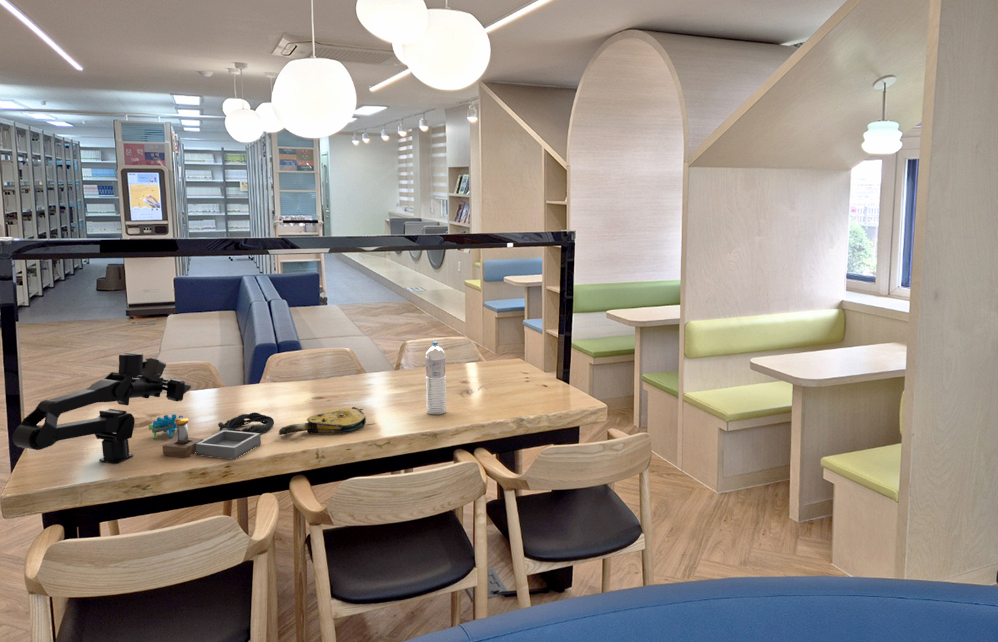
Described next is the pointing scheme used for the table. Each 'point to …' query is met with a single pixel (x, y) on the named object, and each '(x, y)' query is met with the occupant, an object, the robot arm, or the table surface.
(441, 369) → the water bottle
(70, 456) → the table surface
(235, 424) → the cable
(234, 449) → the tray
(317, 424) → the pulley block
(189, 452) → the block
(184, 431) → the pin
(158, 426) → the gear
